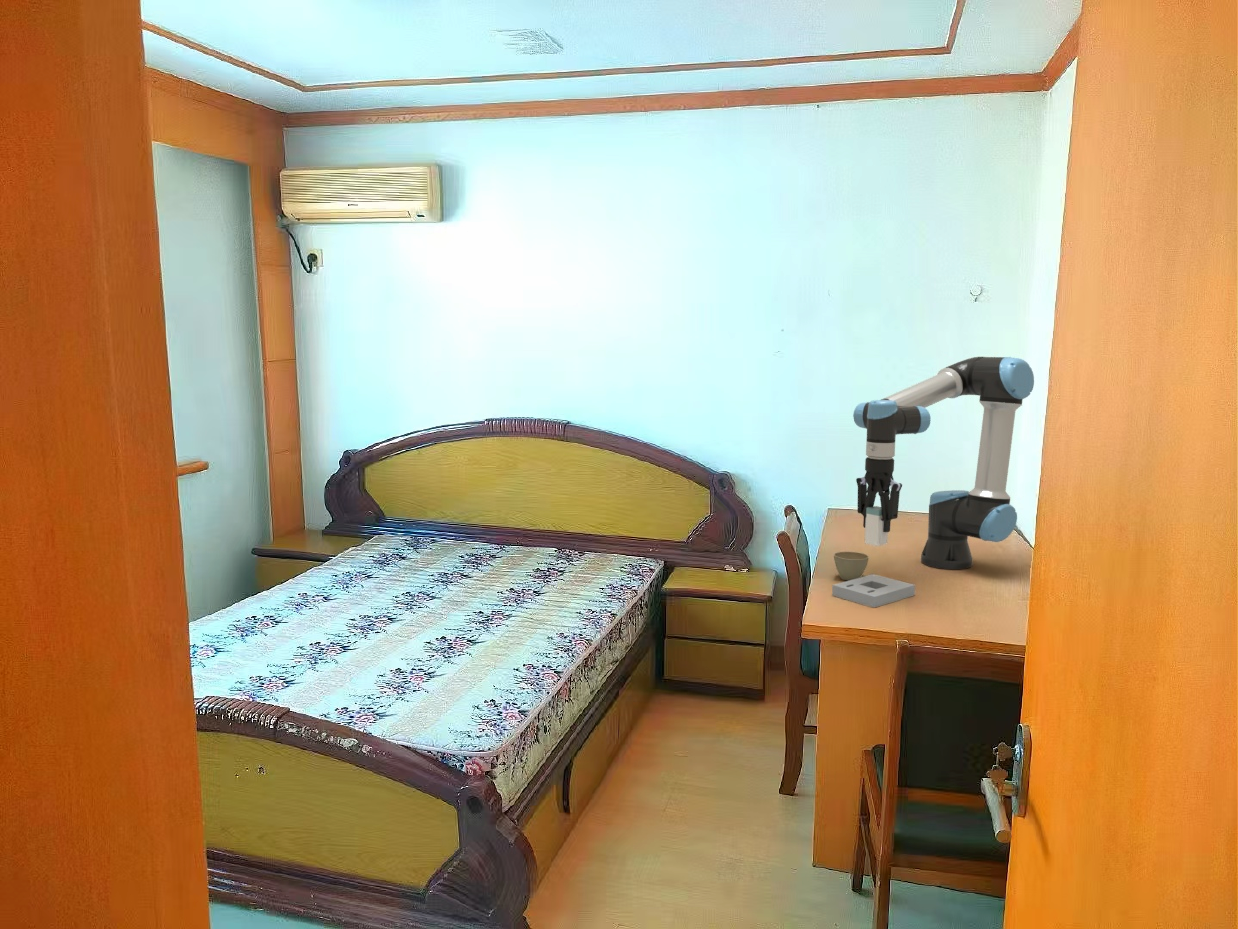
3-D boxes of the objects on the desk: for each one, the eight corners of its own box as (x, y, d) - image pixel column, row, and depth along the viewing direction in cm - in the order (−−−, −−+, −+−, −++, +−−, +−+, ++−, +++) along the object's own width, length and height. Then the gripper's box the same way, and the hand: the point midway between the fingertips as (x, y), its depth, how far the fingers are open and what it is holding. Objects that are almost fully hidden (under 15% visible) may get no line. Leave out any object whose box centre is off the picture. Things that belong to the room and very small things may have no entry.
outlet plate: (872, 584, 257) (873, 573, 257) (914, 595, 246) (915, 584, 246) (832, 595, 246) (832, 584, 246) (874, 607, 235) (874, 596, 235)
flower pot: (866, 584, 257) (867, 560, 255) (831, 581, 260) (831, 557, 259) (869, 576, 266) (870, 552, 265) (835, 572, 269) (835, 549, 268)
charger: (874, 541, 247) (875, 506, 246) (886, 544, 244) (888, 508, 243) (864, 543, 245) (866, 507, 243) (877, 546, 242) (879, 510, 240)
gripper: (845, 454, 245) (842, 537, 249) (898, 462, 232) (893, 549, 235) (862, 452, 250) (859, 534, 253) (915, 459, 236) (910, 545, 240)
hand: (875, 541), depth 244 cm, fingers closed on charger, 4 cm apart
